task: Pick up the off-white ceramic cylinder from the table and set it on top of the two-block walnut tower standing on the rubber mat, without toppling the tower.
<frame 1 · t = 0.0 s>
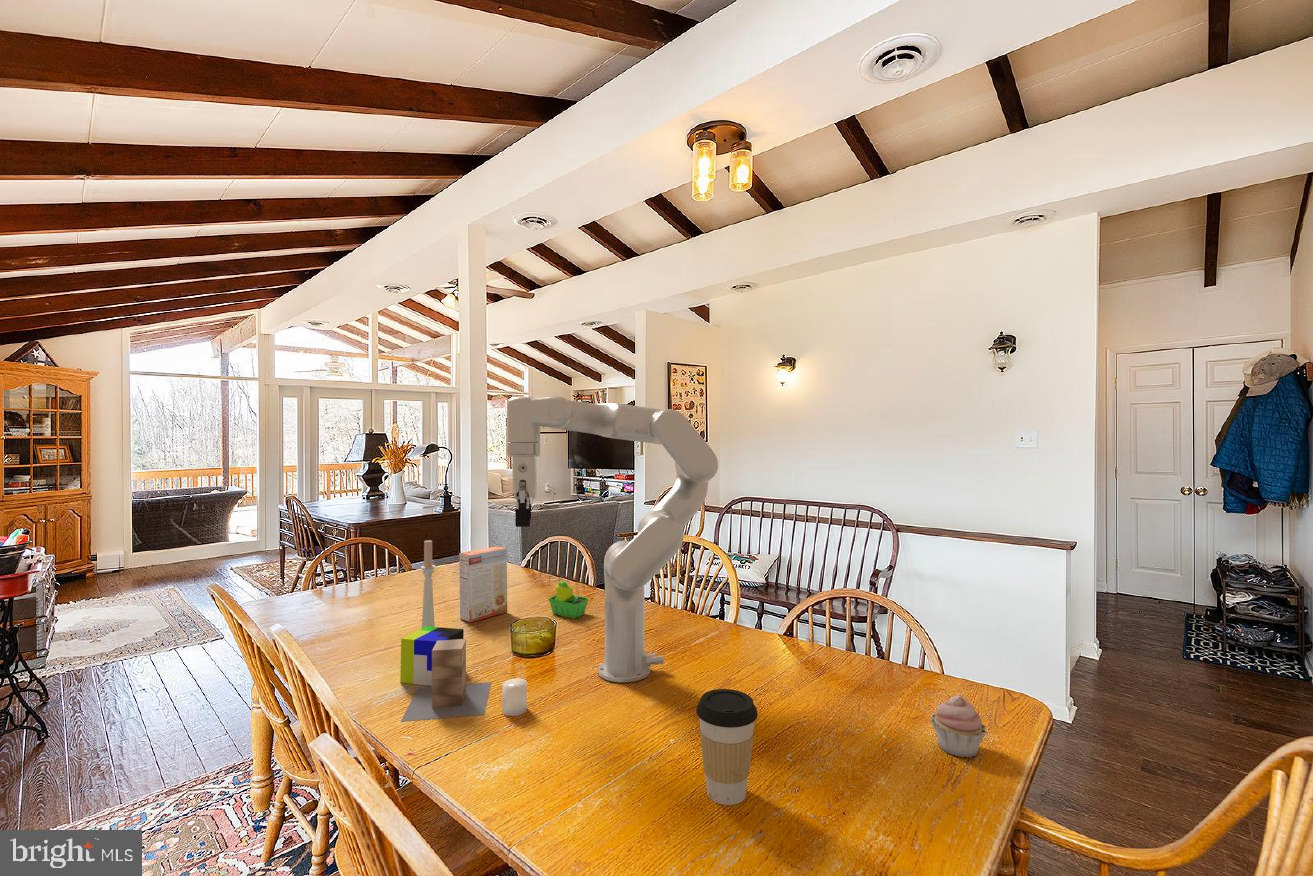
hand: (523, 523, 137), 37 cm above the table, tool pointing down, fingers open, 9 cm apart
mat: (449, 702, 126), on the table
puzzle toy: (432, 677, 138), on the table, touching mat
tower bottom: (449, 700, 126), resting on mat, touching tower top
candlestick: (428, 654, 153), on the table
coffee cup: (726, 794, 94), on the table
cupcake: (958, 750, 108), on the table
tower top: (449, 672, 126), point 6 cm above the table, touching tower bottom
fruit basket: (567, 615, 187), on the table
ceramic cylinder: (514, 712, 121), on the table
cracker box: (483, 616, 185), on the table
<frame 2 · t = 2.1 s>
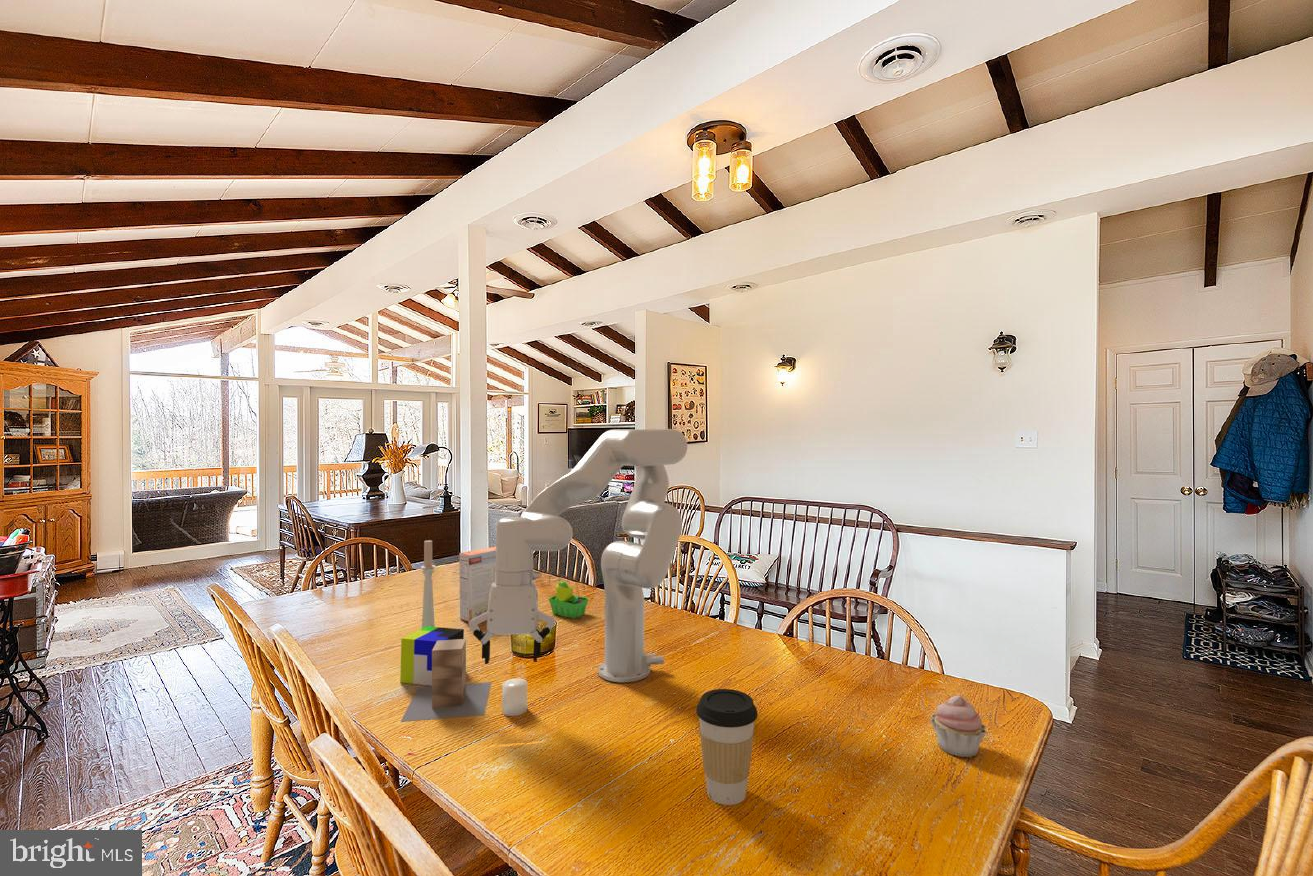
hand: (511, 660, 121), 11 cm above the table, tool pointing down, fingers open, 9 cm apart
nothing on the table moved.
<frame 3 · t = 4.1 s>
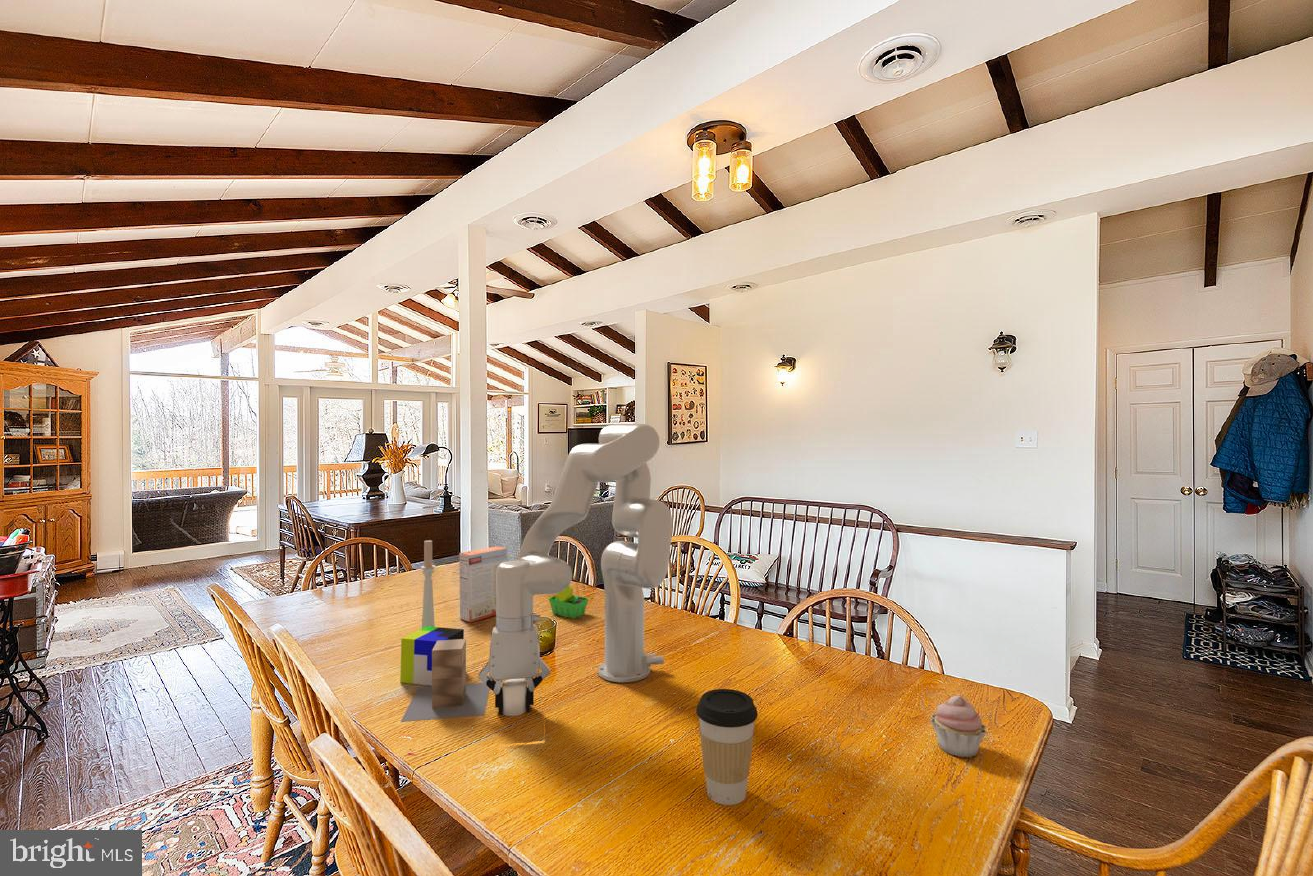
hand: (514, 708, 121), 1 cm above the table, tool pointing down, fingers closed on ceramic cylinder, 5 cm apart
ceramic cylinder: (514, 712, 121), on the table, touching gripper
everything else where it was.
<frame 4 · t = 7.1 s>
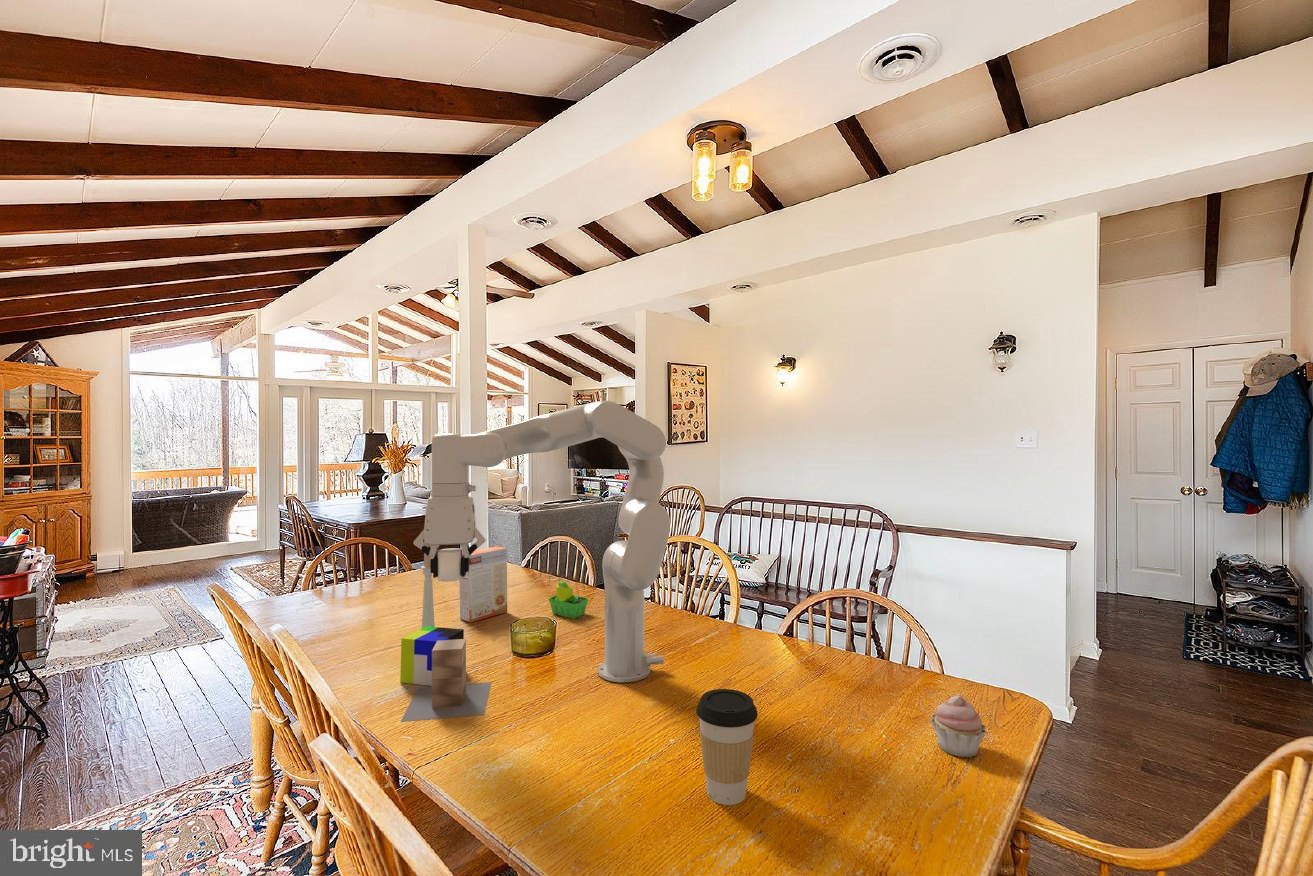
hand: (449, 574, 125), 27 cm above the table, tool pointing down, fingers closed on ceramic cylinder, 5 cm apart
ceramic cylinder: (449, 578, 125), point 27 cm above the table, touching gripper
everything else where it was.
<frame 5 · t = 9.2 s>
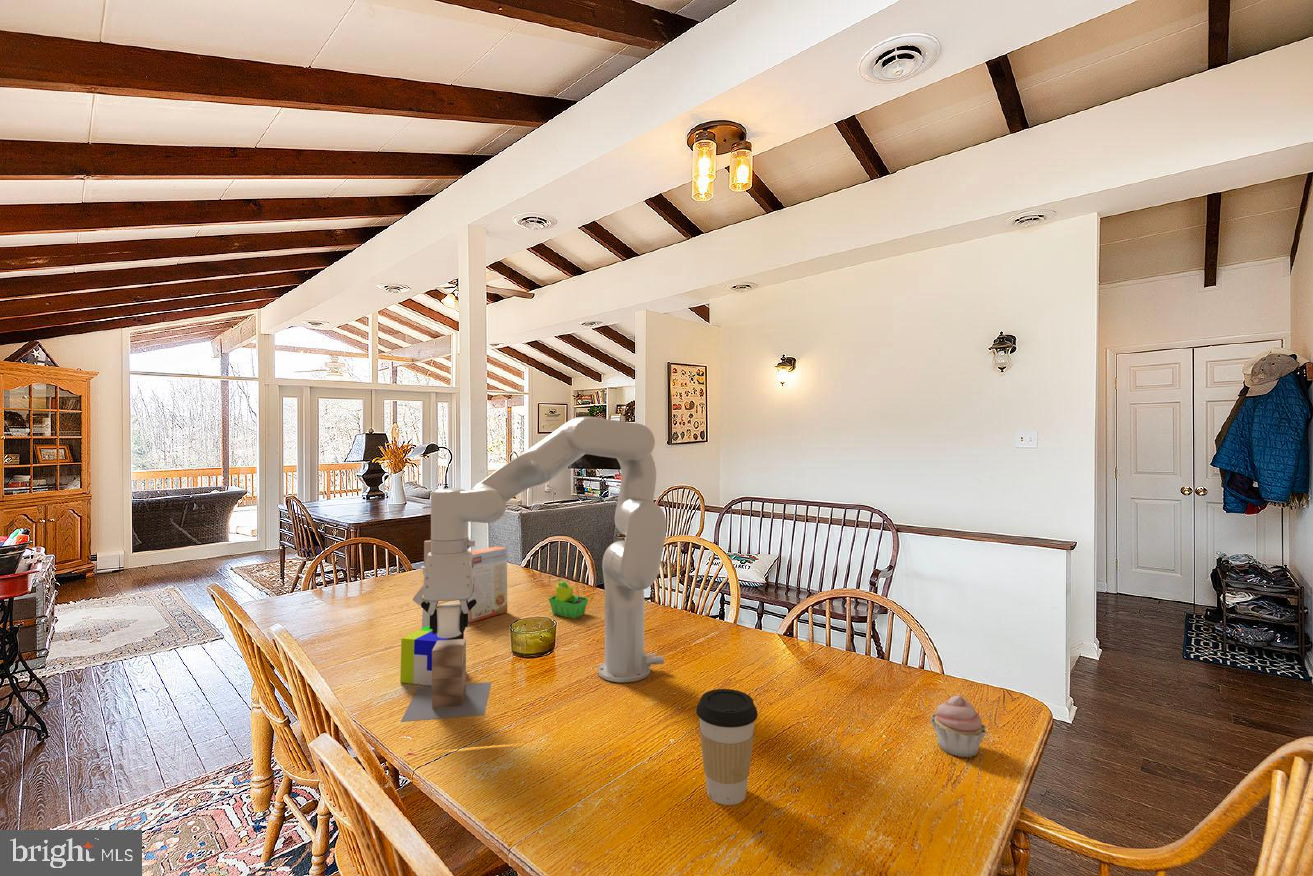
hand: (449, 630, 125), 15 cm above the table, tool pointing down, fingers closed on ceramic cylinder, 5 cm apart
ceramic cylinder: (449, 634, 125), point 15 cm above the table, touching gripper
everything else where it was.
when the fingers open (15 cm above the table, at t = 10.6 s): ceramic cylinder drops 2 cm, resting on tower top.
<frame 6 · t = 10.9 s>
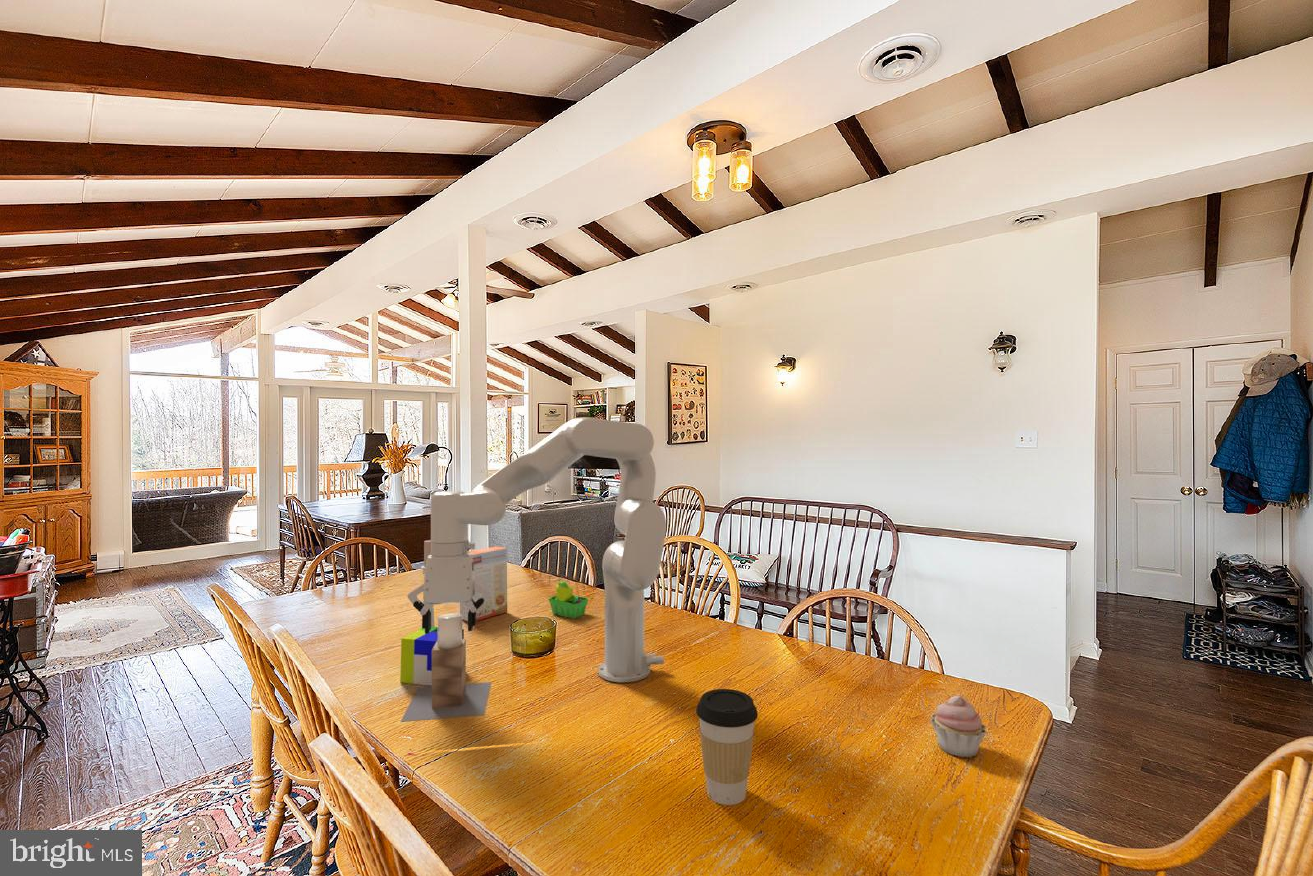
hand: (449, 630, 125), 16 cm above the table, tool pointing down, fingers open, 8 cm apart
tower top: (449, 672, 126), point 6 cm above the table, touching ceramic cylinder, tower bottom
ceramic cylinder: (449, 644, 125), point 12 cm above the table, touching tower top
everything else where it was.
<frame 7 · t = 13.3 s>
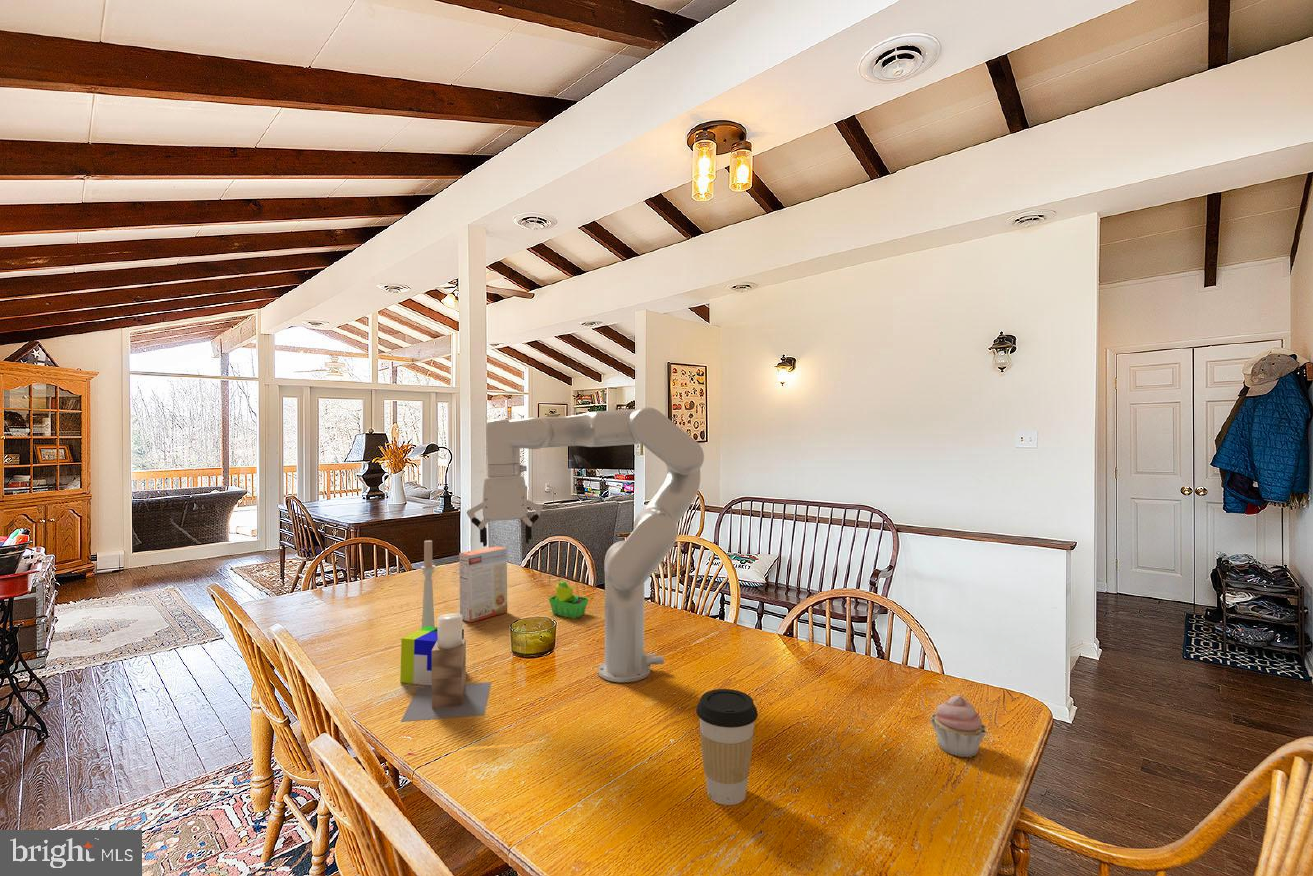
hand: (506, 544, 138), 32 cm above the table, tool pointing down, fingers open, 9 cm apart
nothing on the table moved.
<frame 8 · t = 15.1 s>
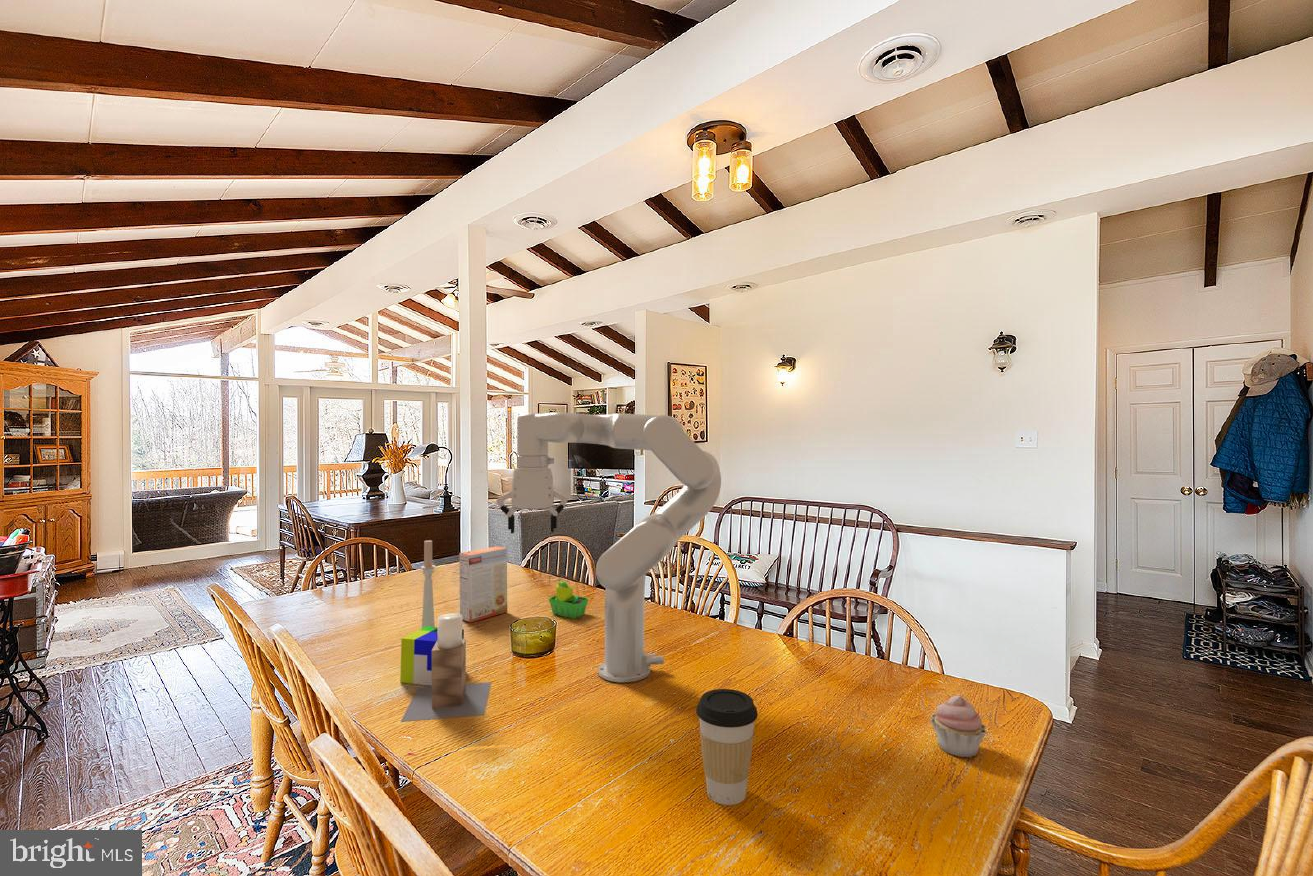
hand: (532, 531, 145), 33 cm above the table, tool pointing down, fingers open, 9 cm apart
nothing on the table moved.
at the end: ceramic cylinder 0.2 cm off-centre on the tower top, point 6.0 cm above the tower top's base; tower top tilted 0°; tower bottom moved 0.0 cm from its start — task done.
